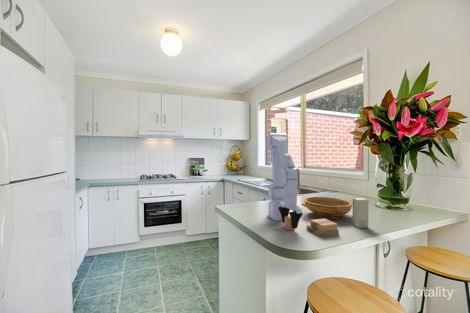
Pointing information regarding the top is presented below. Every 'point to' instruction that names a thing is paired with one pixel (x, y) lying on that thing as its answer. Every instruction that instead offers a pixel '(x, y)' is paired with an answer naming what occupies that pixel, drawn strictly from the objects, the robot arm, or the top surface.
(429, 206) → the top surface
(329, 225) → the top block
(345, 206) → the wooden bowl
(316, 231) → the bottom block
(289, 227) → the peach capsule
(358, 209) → the box
